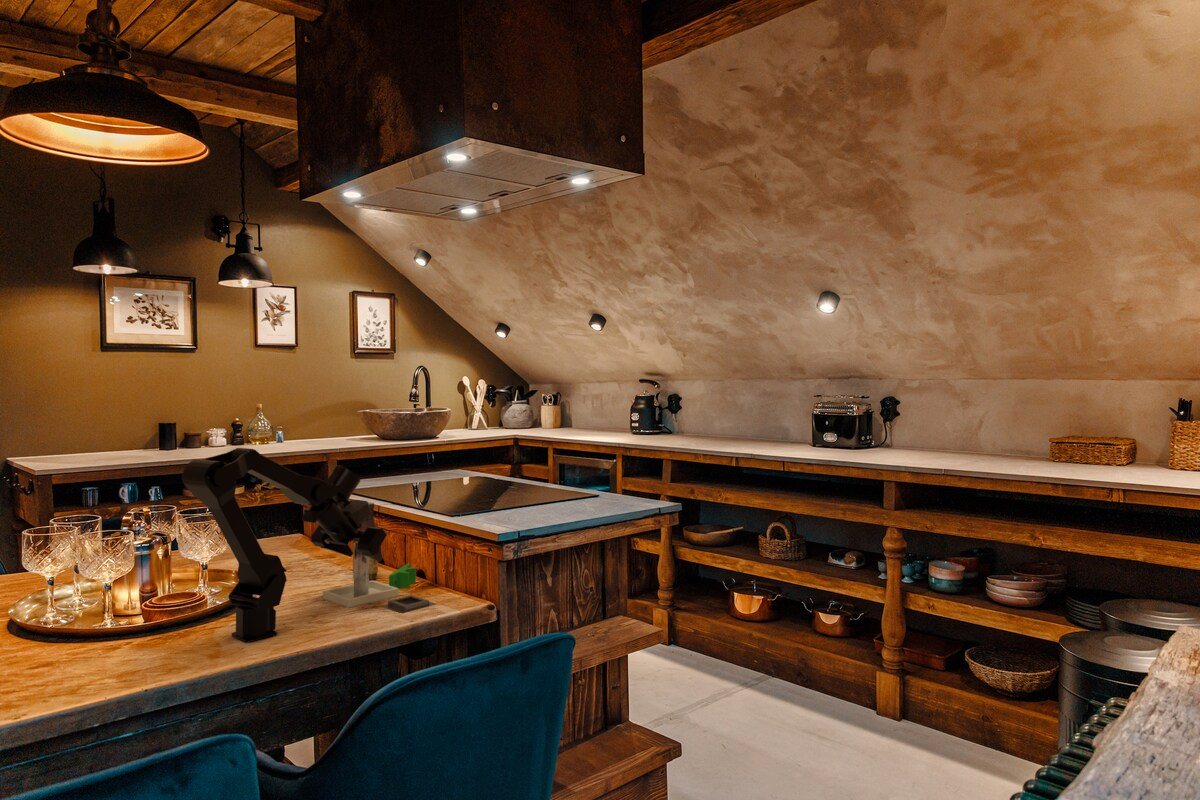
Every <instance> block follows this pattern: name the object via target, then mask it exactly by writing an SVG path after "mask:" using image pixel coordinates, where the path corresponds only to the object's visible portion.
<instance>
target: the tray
mask: <svg viewBox="0 0 1200 800" xmlns="http://www.w3.org/2000/svg"><path fill="white" fill-rule="evenodd" d="M399 591H400V588H396V587H392V586H389V584H386V583H383V582H380V581H376V580H375V579H373V580H370V581H369V594H368V595H364V596H360V597H355V598H354V584H349V585H345V586H340V587H336V588H332V589H331V588H330V589H326V590H323V591H322V600H324V601H327V602H329V603H333V604H335V605H338V606H341V607H343V608H346V609H351V608H352V609H353V608H355V607H361V606H364V605H367V604H372V603H377V602H381V601H384V600H389V599H392V598H393V599H394V598H397V597H399V595H400V594H399V593H400V592H399Z"/></svg>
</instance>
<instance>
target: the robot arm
mask: <svg viewBox="0 0 1200 800" xmlns="http://www.w3.org/2000/svg"><path fill="white" fill-rule="evenodd" d="M247 473H248V474H250V475H251V476H254V477H256V478H258V479H259V480H262V481H264V482H266V483H268V484H270V485H272V486H274V487H276V488H278V489H279V490H280V491H281V492H282V493H283V495H284V496H285V497H286V498H287V499H289V500H290V501H291V502H292V503H294V504H298V505H307V506H308V508H307V509H304V510H303V515H302V522H304V523H305V522H306V523H313V524H315V523H317V524H318V526H317V528H316V529H315V530H314V531H313V533H312V534H311V537H310V539H311V541H310V542H311V543H312V545H314V546H315V547H319V548H321V549H324V550H326V551H331V552H334V553H336V554H337V553H338V554H340V555H344V556H346V557H351V558H352V557H353V549H351V547H350V546H349V543H350V542H353V541H358V543H357V549H358V550H359V551H360V552H361V553H362V555H364V556H367V557H369V558H372V559H374V560H376V561H378V563H379V562H382V560H383V554H382V550H381V546H382V544H383V543H384V541H385V539H386V537H387V536H388V534H387V532H386V530H385V529H384V528H383V527H377V526H376V527H367V529H366V531H365V532H364V531H358V530H357V529H358V528H360V527H361V526H362V523H361V521H362V520H363V519H365V518H366V517H367V516H368V515H370V514H371V510H370V507H369V504H368V502H369V501H367V500H363V499H361V500H360V499H354V500H353V499H350V497H352V494H353V493H354V491H355V490H356V489H357V487H358V486H359V484H360V483H361V478H360V476H359V475H358V474H356V473H355V472H353V470H350V469H348V468H346V467H345V465H340V464H339V465H336V466H335V467H334V469H333V470H332V473H331V474H330V476H329V477H328V479H327V480H326V481H325V480H324V479H321V478H317V477H313V476H309V475H306V474H305V475H304V474H300V473H297V472H295V471H293V470H291V469H290V468H287V467H285V466H284V465H282V464H280V463H278V462H276V461H274V460H272V459H270V458H268V457H267V456H264V455H263V454H261V453H260V452H259V451H258V450H256V449H253V448H243V447H236V448H235V449H231V450H230V451H227V452H224V453H221V454H217V455H214V456H209V457H207V458H204V459H193V460H191V461H190V462H188V463H187V464H186V466H185V467H184V469H183V472H182V474H181V481H182V484H183V485H184V486H185V488H186V489H187V490H188V491H189V492H190V493H191V495H192V496H194V498H196V499H197V500H199V501H200V502H201V503H202V504H203V505H205V506H206V507H207V508H208V510H209V511H210V513H211V515H212V517H213V519H214V521H215V523H216V524H217V527H219V530H220V532H221V534H222V535H223V537H224V539H225V541H226V543H227V545H228V546H229V548H230V550H231V551H232V554H233V555H234V557H235V559H236V561H237V563H238V567H237V573H236V574H237V578H238V581H237V584H236V585H235V586H234V587H233V589H232V590H231V592H230V593H229V594H228V600H229V603H230V605H231V606H236V607H235V631H234V632H231V636H232V637H234V638H236V639H238V640H240V641H242V642H244V643H251V642H255V641H259V640H262V639H266V637H267V638H270V637H269V636H271V637H274V636H273V635H275V636H277V635H278V632H277V631H276V628H277V627H276V625H277V624H276V623H277V622H276V621H277V617H276V616H277V609H275V607H278V606H280V605H281V604H280V603H281V600H282V598H283V593H284V591H285V587H286V583H287V575H286V573H287V571H288V570H287V569H286V568H285V567H284V566H283V564H282V560H281V558H280V557H279V556H278V555H276V554H269V553H265V552H264V551H263V549H262V546H261V545H260V543H259V540H258V539H257V537H256V535H255V533H254V531H253V529H252V528H251V526H250V524H249V522H248V520H247V518H246V516H245V515H244V513H243V510H242V509H241V506H240V504H239V503H238V501H237V498H236V497H235V496H236V488H237V481H239V480H240V479H242V478H243V477H244V476H245V475H246V474H247ZM349 499H350V500H349ZM254 595H255V596H254ZM256 596H259V597H256ZM276 634H277V635H276Z"/></svg>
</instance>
